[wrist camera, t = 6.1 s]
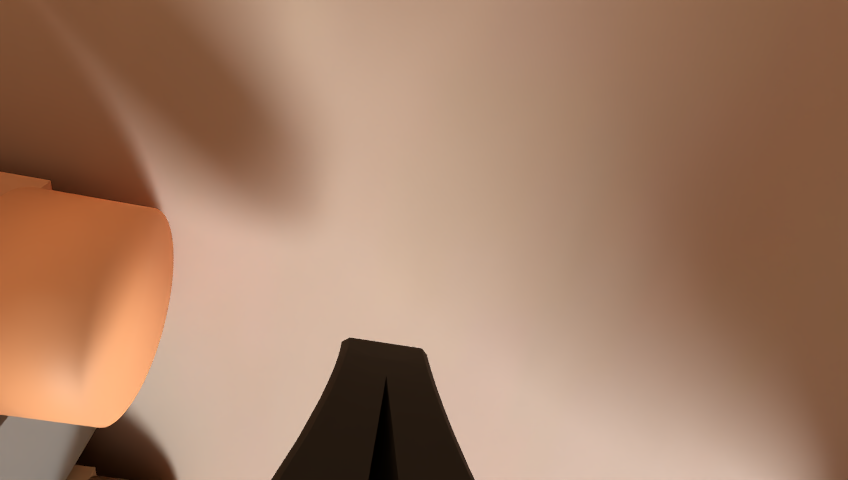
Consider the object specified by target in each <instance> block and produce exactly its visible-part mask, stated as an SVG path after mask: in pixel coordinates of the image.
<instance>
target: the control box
mask: <svg viewBox="0 0 848 480" xmlns="http://www.w3.org/2000/svg"><path fill="white" fill-rule="evenodd" d="M95 430H96V427H90V426H83V425H75V424H68V423H60V422H52V421H45V420H37V419H30V418H22V417H14V416H7V415H0V480H66V479H67V477H68V475H69V474H70V472H71V470H72V469H73V467H74V465H75V464H76V462H77V460H78V458H79V457H80V455H81V453H82V452H83V450H84V448H85V447H86V445H87V443H88V442H89V440H90V438H91V437H92V435H93V433H94V431H95Z"/></svg>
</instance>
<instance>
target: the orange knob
mask: <svg viewBox="0 0 848 480" xmlns="http://www.w3.org/2000/svg"><path fill="white" fill-rule="evenodd" d="M172 277H173V241H172V234H171V229H170V226H169V223H168V221H167V219H166V217H165V215H164V214H163V213H162V212H161V211H160V210H159V209H156V208H151V207H146V206H140V205H134V204H129V203H123V202H117V201H111V200H106V199H100V198H94V197H88V196H83V195H77V194H71V193H65V192H60V191H54V190H52V187H51V180H45V179H40V178H34V177H28V176H23V175H17V174H11V173H6V172H0V415H7V416H14V417H22V418H30V419H37V420H45V421H52V422H60V423H68V424H75V425H83V426H90V427H98V428H103V427H107V426H110V425H111V424H113V423H114V422H116V421H117V420H118V419H119V418H120V417H121V416H122V415H123V414H124V413H125V411H126V410H127V409H128V408H129V406H130V405H131V403H132V402H133V400H134V399H135V397H136V395H137V394H138V392H139V390H140V388H141V386H142V384H143V382H144V380H145V378H146V376H147V374H148V371H149V369H150V367H151V364H152V362H153V359H154V356H155V353H156V351H157V348H158V344H159V341H160V338H161V335H162V331H163V327H164V323H165V319H166V315H167V310H168V305H169V300H170V293H171V286H172Z"/></svg>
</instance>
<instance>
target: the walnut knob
mask: <svg viewBox="0 0 848 480" xmlns="http://www.w3.org/2000/svg"><path fill="white" fill-rule="evenodd" d="M66 480H127V479H119V478H111V477H103V476H96V468H95V467H89V466H81V465H74V467H73V469H72V470H71V472H70V474H69V475H68V477H67V479H66Z"/></svg>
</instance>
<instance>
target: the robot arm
mask: <svg viewBox="0 0 848 480" xmlns="http://www.w3.org/2000/svg"><path fill="white" fill-rule="evenodd" d="M271 480H474V477H473V475H472V473H471V471H470V469H469V467H468V464H467V462H466V460H465V458H464V455H463V453H462V451H461V448H460V446H459V444H458V442H457V439H456V437H455V435H454V432H453V430H452V427H451V425H450V422H449V420H448V417H447V415H446V412H445V410H444V407H443V404H442V401H441V399H440V396H439V393H438V390H437V387H436V385H435V381H434V378H433V375H432V372H431V369H430V365H429V362H428V358H427V355H426V353H425V352H424V351H423V349H421V348H415V347H408V346H401V345H395V344H388V343H382V342H375V341H369V340H362V339H355V338H348V339H346V340H344V341H343V342H342V344H341V348H340V352H339V356H338V359H337V361H336V364H335V367H334V369H333V372H332V374H331V377H330V379H329V381H328V383H327V385H326V387H325V389H324V391H323V394H322V396H321V398H320V400H319V401H318V403H317V405H316V407H315V409H314V411H313V412H312V414H311V416H310V418H309V420H308V421H307V423H306V425H305V427H304V429H303V430H302V432H301V434H300V436H299V437H298V439H297V441H296V442H295V444H294V445H293V447H292V448H291V450H290V452H289V453H288V455H287V456H286V458H285V459H284V461H283V462H282V464H281V465H280V467H279V469H278V470H277V472H276V473H275V475H274V476H273V478H272V479H271Z"/></svg>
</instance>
